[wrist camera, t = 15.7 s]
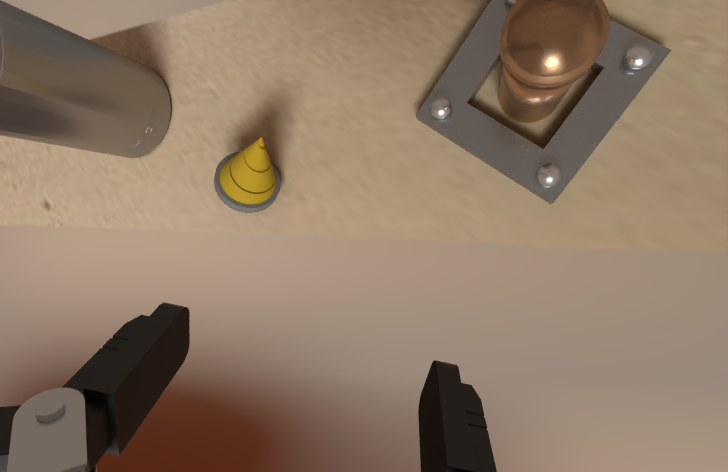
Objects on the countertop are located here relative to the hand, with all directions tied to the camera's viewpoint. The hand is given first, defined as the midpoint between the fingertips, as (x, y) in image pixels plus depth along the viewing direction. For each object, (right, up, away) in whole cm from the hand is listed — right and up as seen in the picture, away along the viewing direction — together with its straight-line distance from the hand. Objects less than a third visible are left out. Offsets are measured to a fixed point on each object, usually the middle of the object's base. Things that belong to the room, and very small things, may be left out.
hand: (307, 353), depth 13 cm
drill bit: (-7, +9, +23) cm, 26 cm away
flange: (+14, +15, +17) cm, 26 cm away
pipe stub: (+14, +14, +17) cm, 26 cm away
